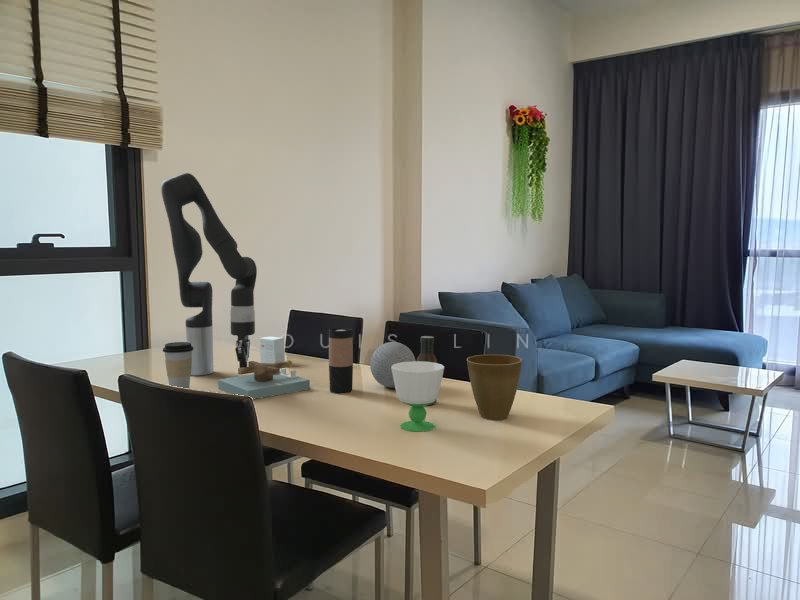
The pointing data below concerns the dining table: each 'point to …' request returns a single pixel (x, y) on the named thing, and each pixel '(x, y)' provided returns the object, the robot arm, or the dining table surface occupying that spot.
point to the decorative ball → (388, 361)
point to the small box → (272, 350)
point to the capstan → (264, 369)
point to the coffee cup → (178, 363)
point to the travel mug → (340, 360)
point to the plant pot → (494, 383)
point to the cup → (417, 390)
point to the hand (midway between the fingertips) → (243, 373)
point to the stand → (264, 385)
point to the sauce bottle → (427, 352)
